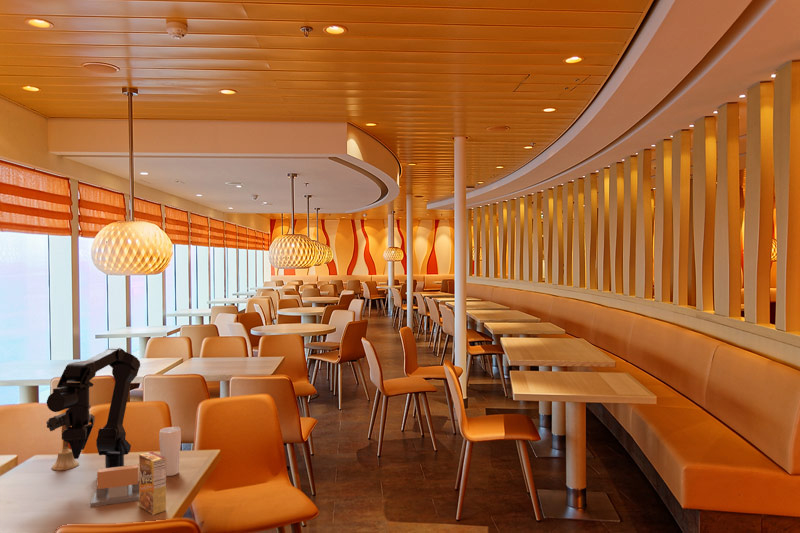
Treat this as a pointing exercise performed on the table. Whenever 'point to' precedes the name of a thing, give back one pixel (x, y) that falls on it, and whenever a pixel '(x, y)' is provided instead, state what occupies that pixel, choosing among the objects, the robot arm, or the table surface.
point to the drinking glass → (170, 448)
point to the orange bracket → (117, 476)
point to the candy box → (152, 482)
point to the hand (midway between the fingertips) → (79, 454)
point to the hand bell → (65, 457)
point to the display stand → (115, 495)
